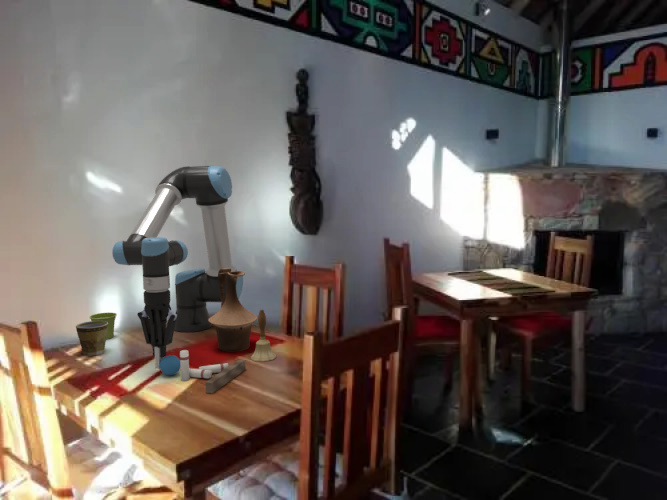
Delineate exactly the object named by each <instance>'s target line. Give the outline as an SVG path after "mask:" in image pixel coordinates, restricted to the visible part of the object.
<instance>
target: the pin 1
mask: <svg viewBox="0 0 667 500" xmlns="http://www.w3.org/2000/svg"><path fill="white" fill-rule="evenodd" d="M179 360H180V366H181V367H180V380H181V381H182V382H185V381H190V378H191V377H190V376H189V368H190V353H189V349H188V350H187V349H183V350H180V351H179Z"/></svg>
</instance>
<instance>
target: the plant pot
mask: <svg viewBox="0 0 667 500" xmlns="http://www.w3.org/2000/svg"><path fill="white" fill-rule="evenodd" d="M117 315H118V314H117V313H116V312H99V313H94V314H91V315H90V316H89V319H90V320H91V321H106V322H108V329H107V335H106V340H111V339H112V338H113V337H114V335H115V323H116V322H115V321H116V317H117Z"/></svg>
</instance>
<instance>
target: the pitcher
mask: <svg viewBox="0 0 667 500" xmlns="http://www.w3.org/2000/svg"><path fill="white" fill-rule="evenodd" d="M240 276H243V277H244V276H245V272H244V271H240V270H237V271H235V272H231V268H222V269H220V270H219V272H218V283H219V288H220V294H221V302H222V303H220V309H218V311H217V312H215V314H213V315H212V316H210V318H209V319H208V321H209V322H210V323H212V325H213V326H214V328H215V332H216V336H217V342H218V346H217V347H218V349H219V350H220V351H222V352H228V353H229V352H230V353H233V352H234V353H235V352H242V351H245V350H247V349H249V347H250V344H251V343H250V341H251V339H250V338H251V332H252V325H253V323H254V322H256V321H257V320H258V316H257V315H256V314H254V313H253V312H251V311H250V310H248V309H247V308H245V306H243V304H242V303H241V301H240V300H239V299H240V298H239V299H238V297H237V292H236V281H237V279H238V277H240ZM223 281H224V282H225V285H226V299H225V293H224V285H223Z"/></svg>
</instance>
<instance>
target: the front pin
mask: <svg viewBox="0 0 667 500" xmlns="http://www.w3.org/2000/svg"><path fill="white" fill-rule="evenodd" d="M212 374H213V373H212V371H211V370H204V369H203V370H202V369H199V368H190V367H189V376H190V378H196V379H197V378H198V379H207V380H210V379H211V378H212V377H213V376H212Z"/></svg>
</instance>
